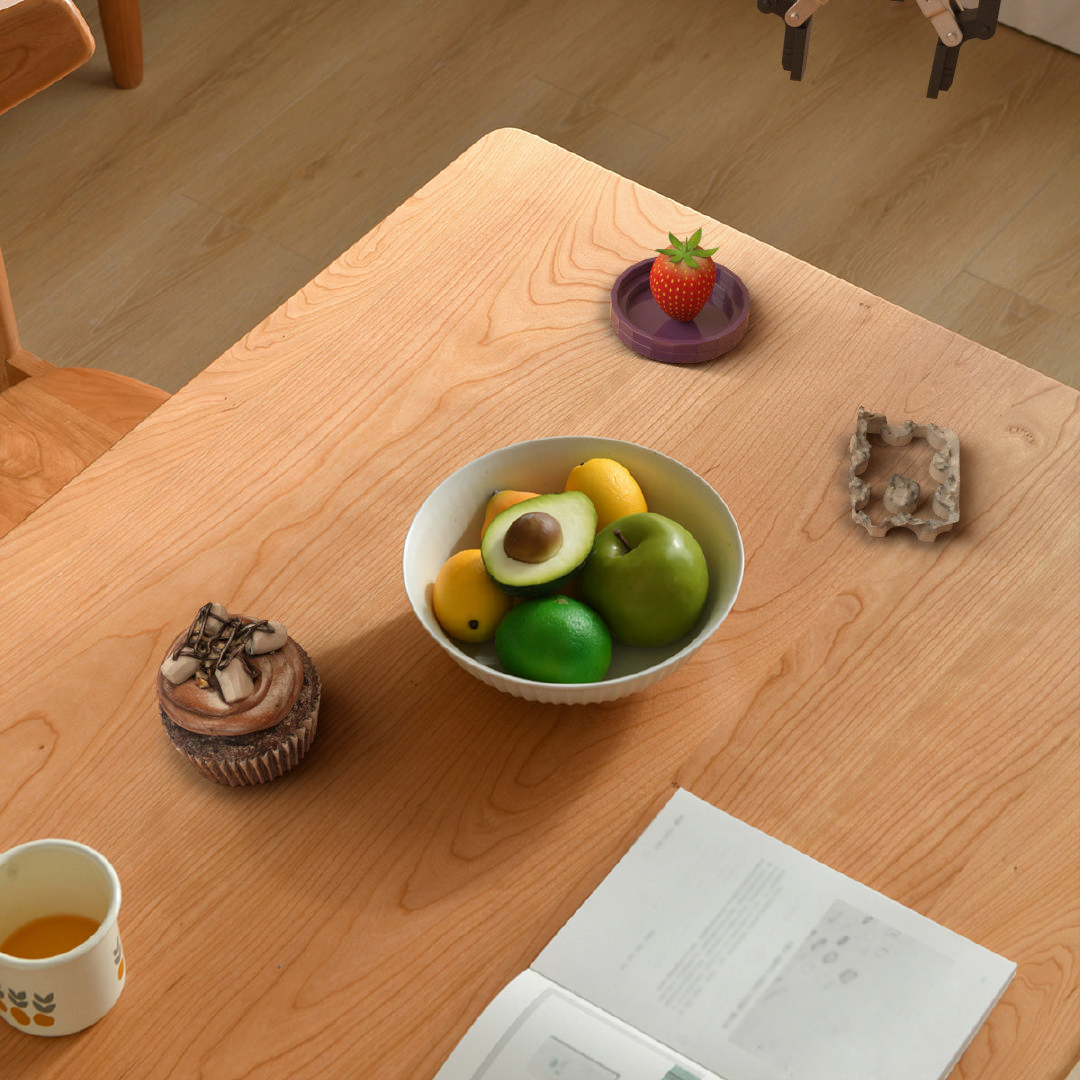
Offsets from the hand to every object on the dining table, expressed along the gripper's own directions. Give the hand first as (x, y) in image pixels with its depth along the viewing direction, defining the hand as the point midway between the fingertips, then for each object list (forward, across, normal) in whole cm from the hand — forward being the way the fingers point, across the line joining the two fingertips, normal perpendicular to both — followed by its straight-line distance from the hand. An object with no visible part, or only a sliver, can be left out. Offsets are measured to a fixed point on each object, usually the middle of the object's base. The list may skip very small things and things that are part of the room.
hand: (864, 83), depth 86 cm
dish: (+25, +12, -3) cm, 28 cm away
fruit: (+24, +12, -3) cm, 27 cm away
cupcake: (+25, +28, +43) cm, 57 cm away
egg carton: (+26, -8, +10) cm, 29 cm away
